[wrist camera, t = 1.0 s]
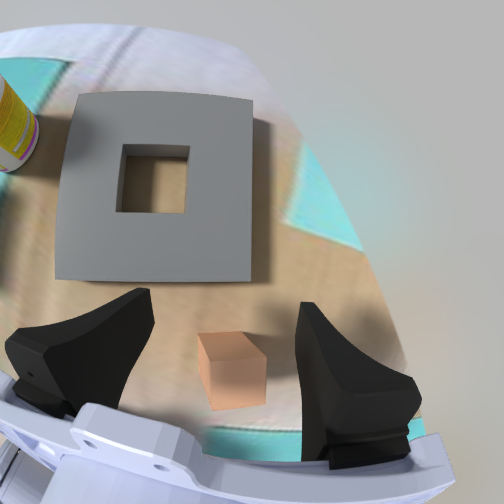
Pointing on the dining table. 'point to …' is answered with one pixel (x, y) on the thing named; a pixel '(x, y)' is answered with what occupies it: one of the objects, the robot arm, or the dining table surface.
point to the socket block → (156, 224)
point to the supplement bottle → (15, 129)
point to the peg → (231, 370)
